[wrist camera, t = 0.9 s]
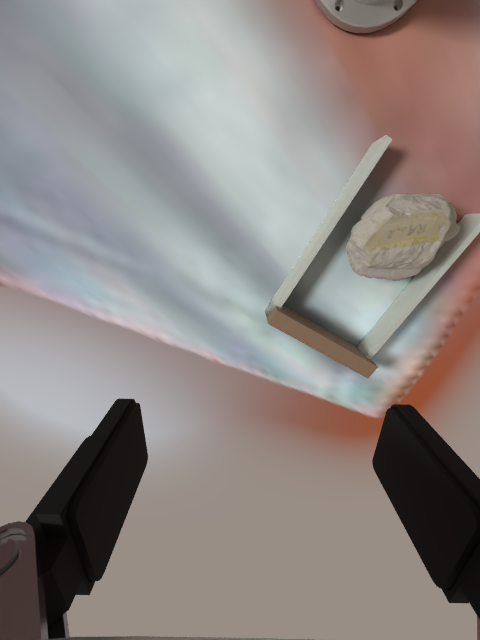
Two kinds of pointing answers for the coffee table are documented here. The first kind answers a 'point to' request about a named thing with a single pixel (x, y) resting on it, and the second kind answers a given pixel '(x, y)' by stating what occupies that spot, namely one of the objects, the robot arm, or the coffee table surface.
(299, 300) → the coffee table surface
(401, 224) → the fossil replica
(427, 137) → the coffee table surface
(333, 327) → the coffee table surface
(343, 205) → the channel
